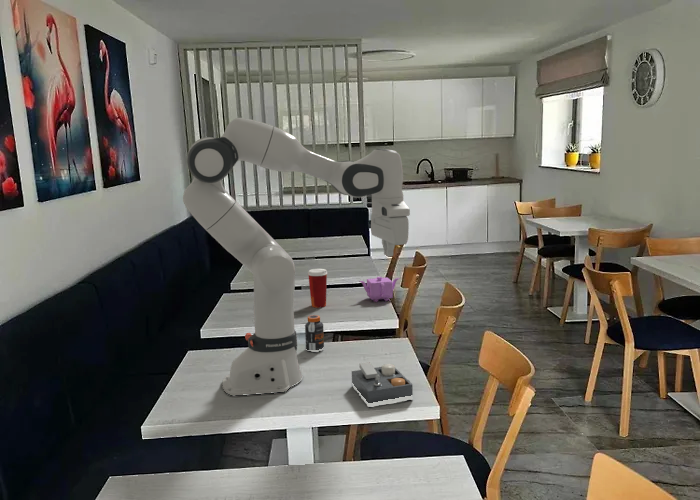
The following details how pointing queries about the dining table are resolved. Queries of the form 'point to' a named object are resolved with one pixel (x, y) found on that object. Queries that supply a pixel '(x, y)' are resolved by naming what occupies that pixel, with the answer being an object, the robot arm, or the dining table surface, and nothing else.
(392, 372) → the button ivory
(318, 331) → the pill bottle
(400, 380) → the button orange
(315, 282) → the coffee cup
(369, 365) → the rocker
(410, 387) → the console
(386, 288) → the teapot
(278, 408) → the dining table surface
